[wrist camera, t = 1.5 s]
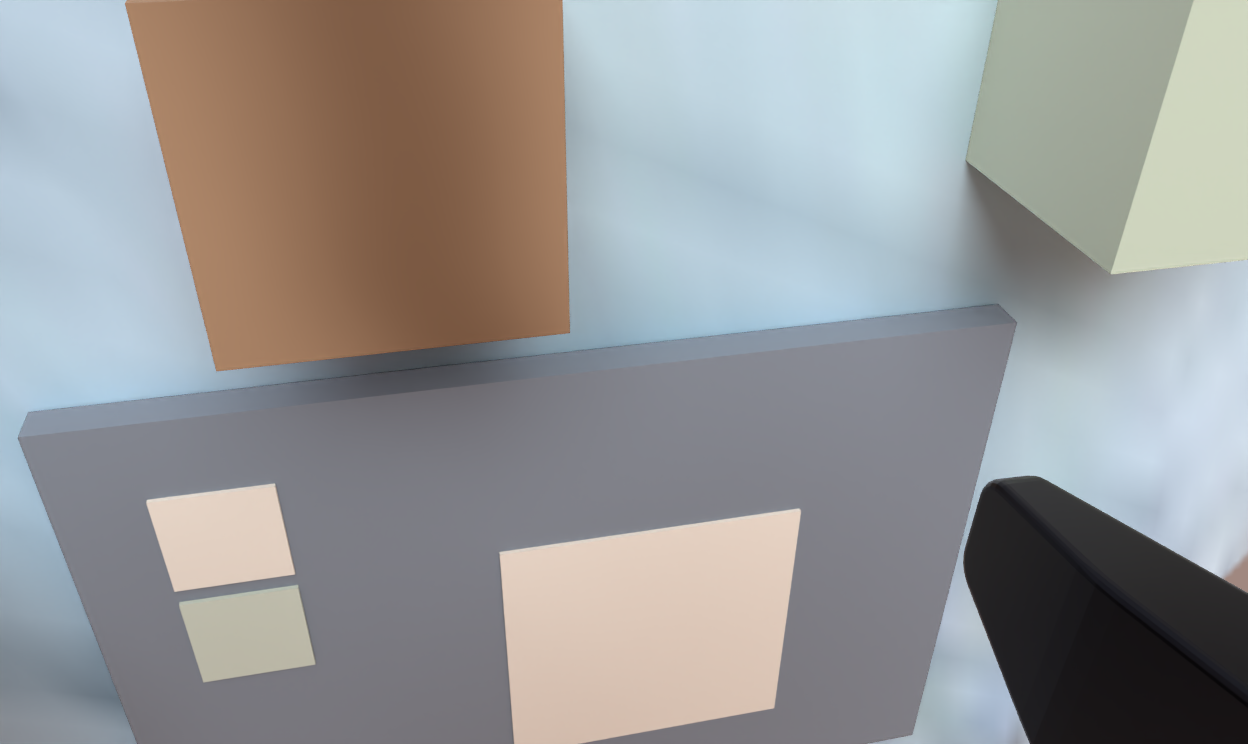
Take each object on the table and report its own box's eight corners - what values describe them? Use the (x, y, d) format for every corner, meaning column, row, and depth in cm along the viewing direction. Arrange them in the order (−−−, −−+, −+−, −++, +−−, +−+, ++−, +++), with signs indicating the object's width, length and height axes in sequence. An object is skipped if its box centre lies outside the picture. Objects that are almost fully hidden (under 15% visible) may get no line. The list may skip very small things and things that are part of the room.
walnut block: (243, 218, 19) (216, 371, 15) (180, -83, 16) (124, 3, 12) (522, 194, 20) (570, 332, 16) (508, -93, 17) (561, -17, 13)
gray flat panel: (191, 845, 27) (187, 877, 27) (28, 412, 20) (16, 441, 19) (900, 712, 31) (913, 737, 30) (998, 304, 23) (1019, 324, 23)
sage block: (963, 158, 21) (1110, 274, 17) (1017, -109, 19) (1207, -47, 14) (1179, 141, 22) (1366, 247, 18) (1261, -117, 19) (1504, -59, 15)
